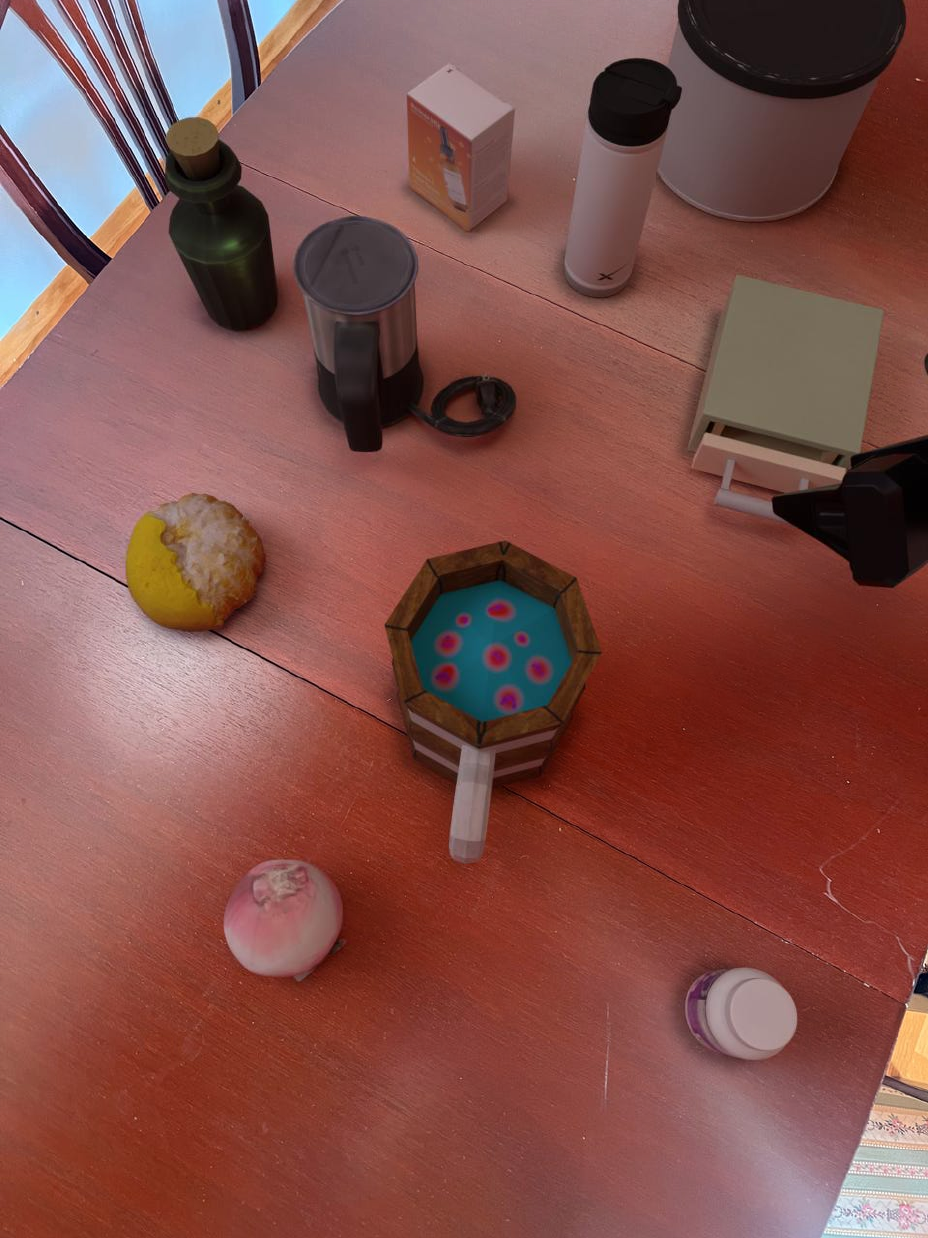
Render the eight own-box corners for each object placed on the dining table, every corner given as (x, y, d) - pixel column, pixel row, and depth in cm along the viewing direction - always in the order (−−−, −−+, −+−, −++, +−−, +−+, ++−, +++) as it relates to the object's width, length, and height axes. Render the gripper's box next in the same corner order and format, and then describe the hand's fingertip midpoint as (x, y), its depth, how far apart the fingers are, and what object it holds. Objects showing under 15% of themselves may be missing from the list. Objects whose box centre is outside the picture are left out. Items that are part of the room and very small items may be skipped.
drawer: (818, 548, 77) (836, 526, 74) (680, 511, 78) (691, 488, 75) (850, 372, 83) (867, 345, 80) (721, 341, 84) (733, 312, 81)
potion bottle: (210, 261, 88) (153, 88, 71) (296, 273, 88) (259, 102, 71) (186, 332, 85) (121, 170, 68) (276, 345, 85) (232, 185, 68)
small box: (408, 188, 92) (403, 91, 82) (449, 157, 93) (448, 58, 83) (468, 234, 90) (470, 140, 80) (509, 201, 91) (516, 106, 81)
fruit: (278, 632, 74) (226, 598, 67) (159, 653, 77) (96, 622, 69) (276, 503, 78) (227, 458, 71) (163, 527, 81) (104, 486, 73)
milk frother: (306, 354, 84) (278, 229, 70) (475, 311, 86) (480, 181, 72) (349, 490, 79) (328, 384, 66) (528, 440, 81) (544, 328, 68)
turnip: (350, 865, 68) (339, 851, 62) (348, 980, 65) (336, 979, 59) (238, 867, 68) (215, 853, 61) (231, 983, 65) (205, 982, 59)
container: (611, 118, 95) (638, -33, 81) (766, 56, 99) (819, -98, 85) (716, 251, 89) (765, 113, 75) (877, 180, 93) (953, 35, 79)
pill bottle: (741, 958, 66) (787, 953, 57) (774, 1038, 64) (826, 1044, 56) (670, 985, 66) (704, 983, 57) (701, 1065, 64) (742, 1077, 55)
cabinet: (833, 488, 80) (860, 453, 75) (686, 450, 81) (703, 413, 76) (858, 351, 85) (884, 309, 80) (719, 317, 86) (736, 273, 81)
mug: (410, 613, 75) (400, 527, 61) (580, 634, 75) (610, 552, 61) (369, 866, 68) (348, 833, 54) (557, 891, 68) (584, 865, 54)
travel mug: (615, 310, 87) (661, 122, 68) (551, 281, 88) (578, 88, 69) (645, 262, 89) (697, 68, 70) (581, 235, 90) (616, 36, 71)
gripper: (1159, 284, 51) (876, 324, 63) (1013, 357, 40) (707, 388, 52) (1158, 487, 54) (891, 488, 66) (1024, 603, 44) (734, 579, 56)
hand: (814, 483), depth 60 cm, fingers open, 9 cm apart
